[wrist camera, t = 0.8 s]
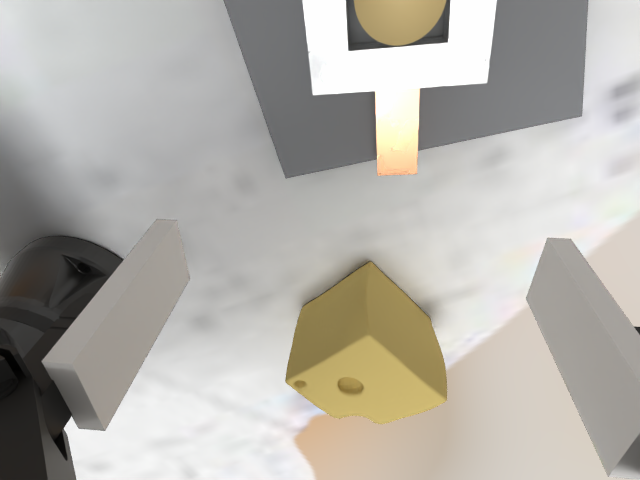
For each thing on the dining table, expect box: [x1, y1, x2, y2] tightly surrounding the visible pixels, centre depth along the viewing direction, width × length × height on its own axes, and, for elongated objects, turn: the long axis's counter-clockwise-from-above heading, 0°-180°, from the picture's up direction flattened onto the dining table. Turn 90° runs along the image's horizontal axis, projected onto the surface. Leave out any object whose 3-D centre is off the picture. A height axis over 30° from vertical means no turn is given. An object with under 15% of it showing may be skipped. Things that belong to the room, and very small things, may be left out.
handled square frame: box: [303, 0, 497, 176], centre depth 27 cm, size 17×11×2 cm, turn 6°
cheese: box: [285, 262, 447, 424], centre depth 40 cm, size 10×11×10 cm
